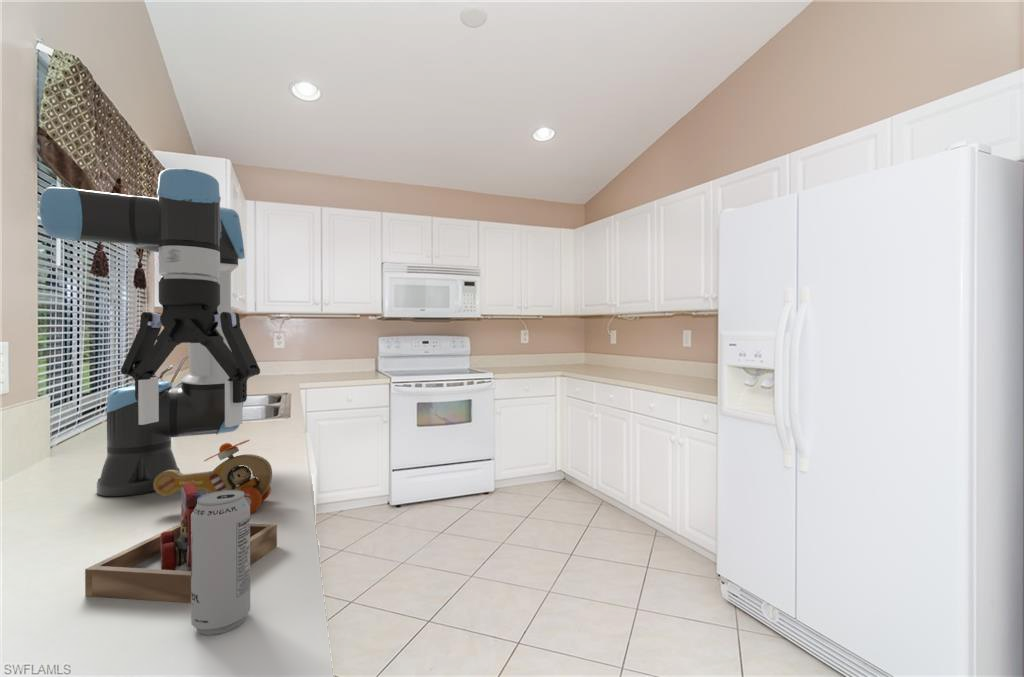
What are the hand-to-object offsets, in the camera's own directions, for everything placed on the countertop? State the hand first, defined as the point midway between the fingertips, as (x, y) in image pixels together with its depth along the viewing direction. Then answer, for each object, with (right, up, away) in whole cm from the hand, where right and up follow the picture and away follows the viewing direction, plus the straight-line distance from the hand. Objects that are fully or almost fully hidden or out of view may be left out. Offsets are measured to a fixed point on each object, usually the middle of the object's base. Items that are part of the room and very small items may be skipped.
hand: (190, 424), depth 71 cm
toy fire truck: (0, -20, 0) cm, 20 cm away
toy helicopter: (-10, -21, +24) cm, 34 cm away
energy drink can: (+13, -21, -14) cm, 28 cm away
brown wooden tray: (0, -21, 0) cm, 21 cm away
